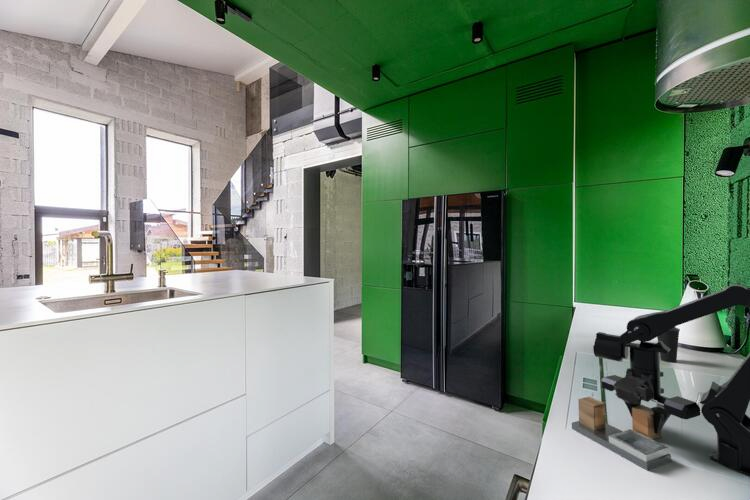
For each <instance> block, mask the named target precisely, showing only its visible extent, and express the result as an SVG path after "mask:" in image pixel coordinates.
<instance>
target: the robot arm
mask: <svg viewBox="0 0 750 500" xmlns="http://www.w3.org/2000/svg"><path fill="white" fill-rule="evenodd" d="M738 305H739V306H744V307H746V308H747V307H748V308H750V287H747V286H744V285H742V284H731V285H728V286H726V287H725V288H723V289H721V290H718V291H715V292H713V293H710V294H708V295H704V296H701V297H700V298H697V299H694V300H691V301H688V302H685V303H683V304H681V305H678V306H676V307H673V308H669V309H667V310H662V311H661V310H660V311H655V312H651V313H645V314H641V315H638V316H636V317H634V318H632V319H631V320H630V319H629V321H628V322H627V324H626V331H624V332H623V333H621V334H620V335H617V334H611V333H606V332H600V331H599V332H597V333H595V340H594V344H593V346H592V347H593V349H592V350H593V355H594V357H595V358H600V359H604V360H605V359H606V360H611V361H615V362H620V363H621V362H623V361H624V359H625V360H627V359H629V366H630V367H629V368H626V371H625V376H624V377H623V376H618V375H616V374H613V375H608V376H604V377H602V378H601V380H600V387H601V388H602V389H603V390H607V391H609V392H614V391H615V396H616V397H617V398H618V399H621V400H622V401H623V402H624V403H625V405H626V407H627V410H628V411H629V414H630V416H631V418H632V407H636V406H640V405H642V401H643V402H646V403H649V401H652V402H655V403H656V406H654V407H650V408H651V410H652V411H653V413H654V432H655V434H659V433H660V431H661V432H662V429H663V427H664V425H665V424H666V423H667V421H668V419H669V418H670V417H671V416H674V417H677V418H679V419H682V420H691V419H693V418H697V417H700V416H701V414H702V415H703V418H704V419H705V420H706V421H707V422H708V423H709V424H710V425H712V426H713V428H714V431H715V432H716V444H717V445H716V447H717V448H716V449H717V452H714V453H711V454H710V455H708V458H709V459H710V460H713V461H715V462H717V463H720V464H722V465H724V466H726V467H728V468H731V469H733V470H735V471H737V472H738V473H741V472H742V473H741V474H744V473H745V474H744V475H746V474H748V475H750V417H749V416H748V415H747V414H746V412H747V410H748V407H749V405H750V352H749V353H748V354H747V356H745V359H744V360H743V361H742V362H741V364H740V365H738V368H737V369H736V370H735V371H734V373H733V374H732V375H731V377H730V378H729V379H728V380H727V381H726V382H724V383H723V384H721V385H719V384H718V383H716V381H712V382H711V385H710V387H709V389H708V390H707V391H706V392H703V393H702V395H701V397H700V400H699V403H700V405H701V404H702V406H701V407H700V406H699V404H698V403H697V402H696V401H693V400H690V399H688V398H685V397H681V396H678V395H677V396H673V397H667V396H664V395H661V394H665V388H663V387H661V377H662V378H663V377H665V375H664V372H663V371H662V370H661V363H660V362H661V358H660V353H668V352H669V351H670V348H669V347H667V346H666V345H665V344H664V343H663V342H662V341H659V342H658V341H657V342H656V343H655V342H650V341H652V340H653V339H656V338H657V337H658V336H660V335H661V334H663V333H665V332H667V331H668V330H670V329H672V328H673V327H678V326H680V325H683V324H685V323H688V322H692V321H694V320H697V319H700V318H702V317H706V316H708V315H712V314H715V313H717V312H721V311H723V310H727V309H730V308H733V307H735V306H738ZM636 341H639V342H640V343H634V342H636ZM748 475H747V476H748Z"/></svg>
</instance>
